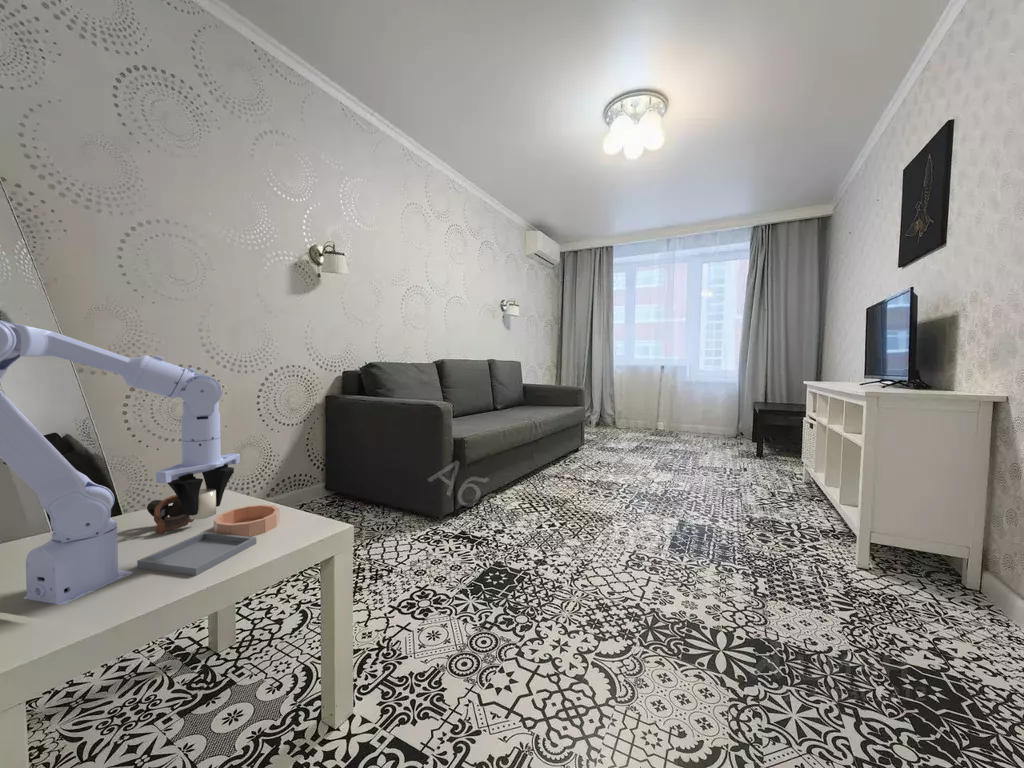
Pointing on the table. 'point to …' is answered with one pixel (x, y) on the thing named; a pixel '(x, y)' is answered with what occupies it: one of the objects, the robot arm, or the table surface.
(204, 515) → the cream rounded cylinder
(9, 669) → the table surface
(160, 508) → the broken clay pot
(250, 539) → the parts tray
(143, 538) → the table surface
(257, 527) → the terracotta bowl
